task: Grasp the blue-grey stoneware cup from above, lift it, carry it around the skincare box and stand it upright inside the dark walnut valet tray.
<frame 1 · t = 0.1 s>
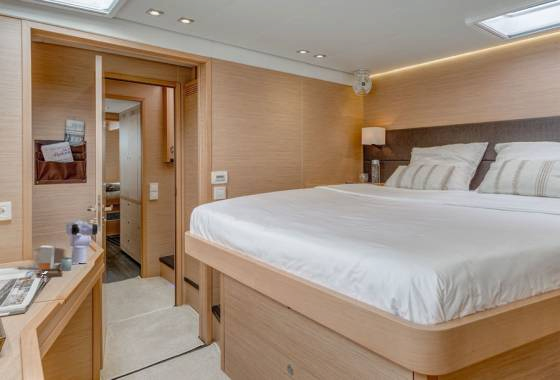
hand: (86, 230, 188), 22 cm above the table, tool horizontal, fingers open, 7 cm apart
cup: (65, 269, 188), on the table
skincare box: (45, 269, 186), on the table
tray: (50, 274, 178), on the table
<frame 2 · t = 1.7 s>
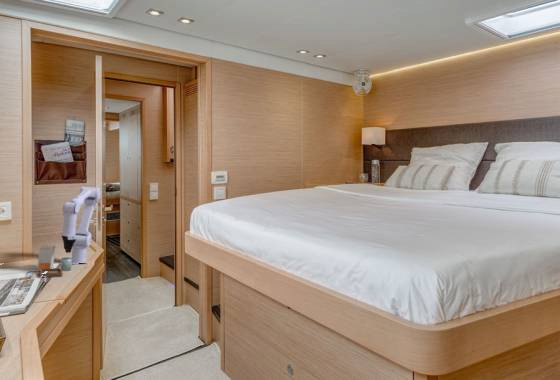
hand: (67, 250, 188), 10 cm above the table, tool pointing down, fingers open, 7 cm apart
nothing on the table moved.
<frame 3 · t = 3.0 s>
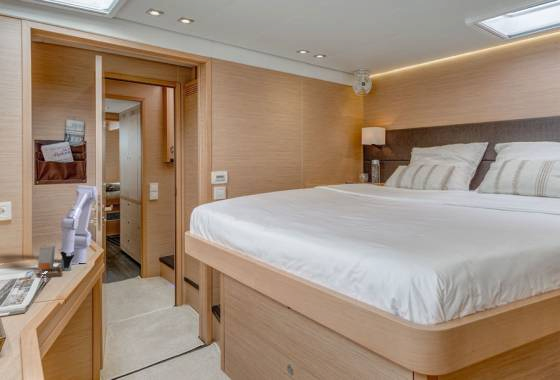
hand: (66, 266, 188), 2 cm above the table, tool pointing down, fingers closed on cup, 5 cm apart
cup: (65, 269, 188), on the table, touching gripper
everything else where it was.
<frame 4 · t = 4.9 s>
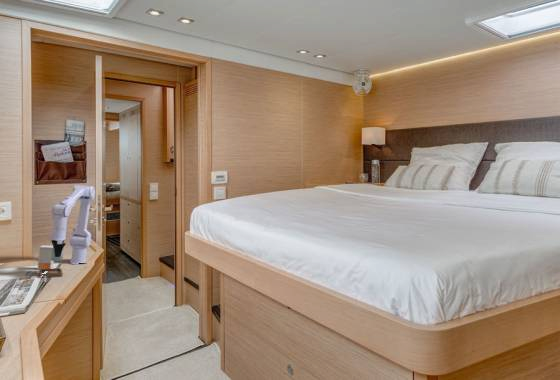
hand: (57, 255, 179), 9 cm above the table, tool pointing down, fingers closed on cup, 5 cm apart
cup: (56, 259, 179), point 7 cm above the table, touching gripper
everything else where it was.
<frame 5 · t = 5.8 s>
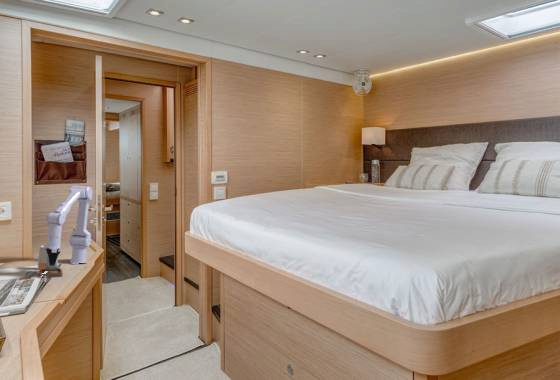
hand: (51, 263, 178), 5 cm above the table, tool pointing down, fingers closed on cup, 5 cm apart
cup: (51, 268, 178), point 3 cm above the table, touching gripper
everything else where it was.
when the fingers open (3 cm above the table, at t = 6.7 s): cup stays where it is, resting on tray.
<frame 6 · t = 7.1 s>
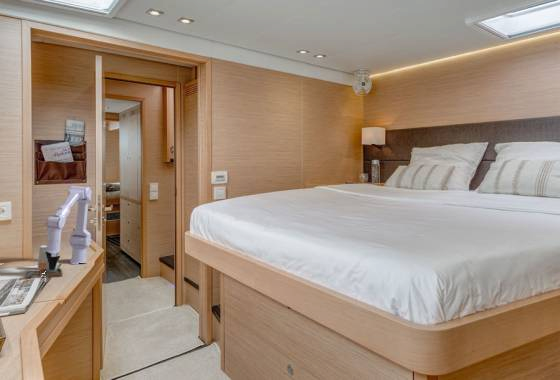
hand: (51, 267, 178), 3 cm above the table, tool pointing down, fingers open, 7 cm apart
cup: (51, 273, 178), point 1 cm above the table, touching tray
everything else where it was.
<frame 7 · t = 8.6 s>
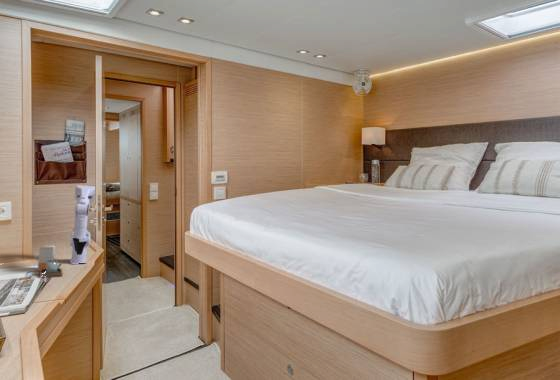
hand: (78, 252, 186), 10 cm above the table, tool pointing down, fingers open, 7 cm apart
nothing on the table moved.
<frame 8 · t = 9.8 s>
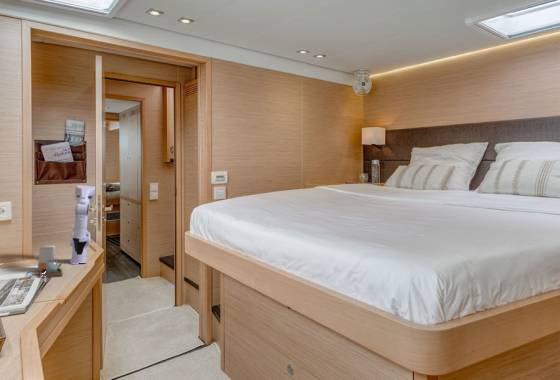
hand: (78, 252, 186), 10 cm above the table, tool pointing down, fingers open, 7 cm apart
nothing on the table moved.
at the end: cup 0.1 cm off-centre on the tray, point 0.6 cm above the tray's base; cup tilted 1°; the gripper is holding nothing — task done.
